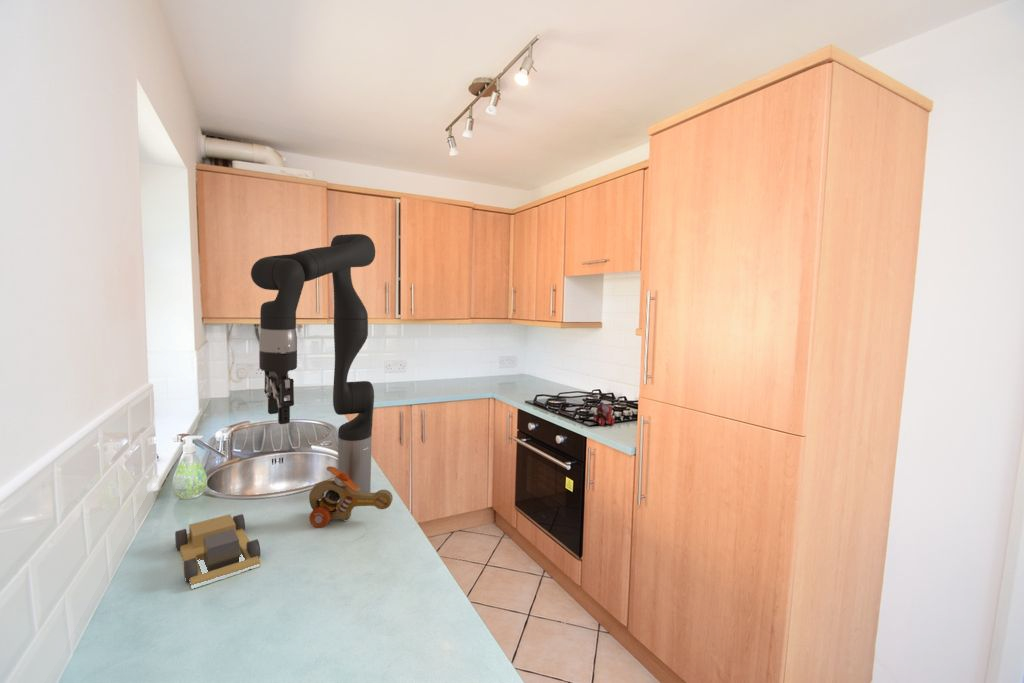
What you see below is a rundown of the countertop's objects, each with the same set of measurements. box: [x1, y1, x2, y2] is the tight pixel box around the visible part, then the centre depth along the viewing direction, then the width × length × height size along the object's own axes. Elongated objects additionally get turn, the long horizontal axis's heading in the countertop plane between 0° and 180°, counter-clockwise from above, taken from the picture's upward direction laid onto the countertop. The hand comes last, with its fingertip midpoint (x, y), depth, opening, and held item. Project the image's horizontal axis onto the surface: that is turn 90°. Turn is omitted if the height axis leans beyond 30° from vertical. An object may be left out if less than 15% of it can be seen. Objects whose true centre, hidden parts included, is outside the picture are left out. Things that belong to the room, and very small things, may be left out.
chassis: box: [174, 513, 261, 585], centre depth 98 cm, size 21×13×4 cm, turn 43°
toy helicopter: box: [308, 465, 394, 528], centre depth 115 cm, size 8×21×14 cm, turn 95°
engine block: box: [204, 529, 239, 572], centre depth 94 cm, size 6×6×6 cm
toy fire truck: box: [593, 401, 615, 427], centre depth 217 cm, size 7×12×10 cm, turn 17°
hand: (278, 418), depth 101 cm, fingers open, 8 cm apart
